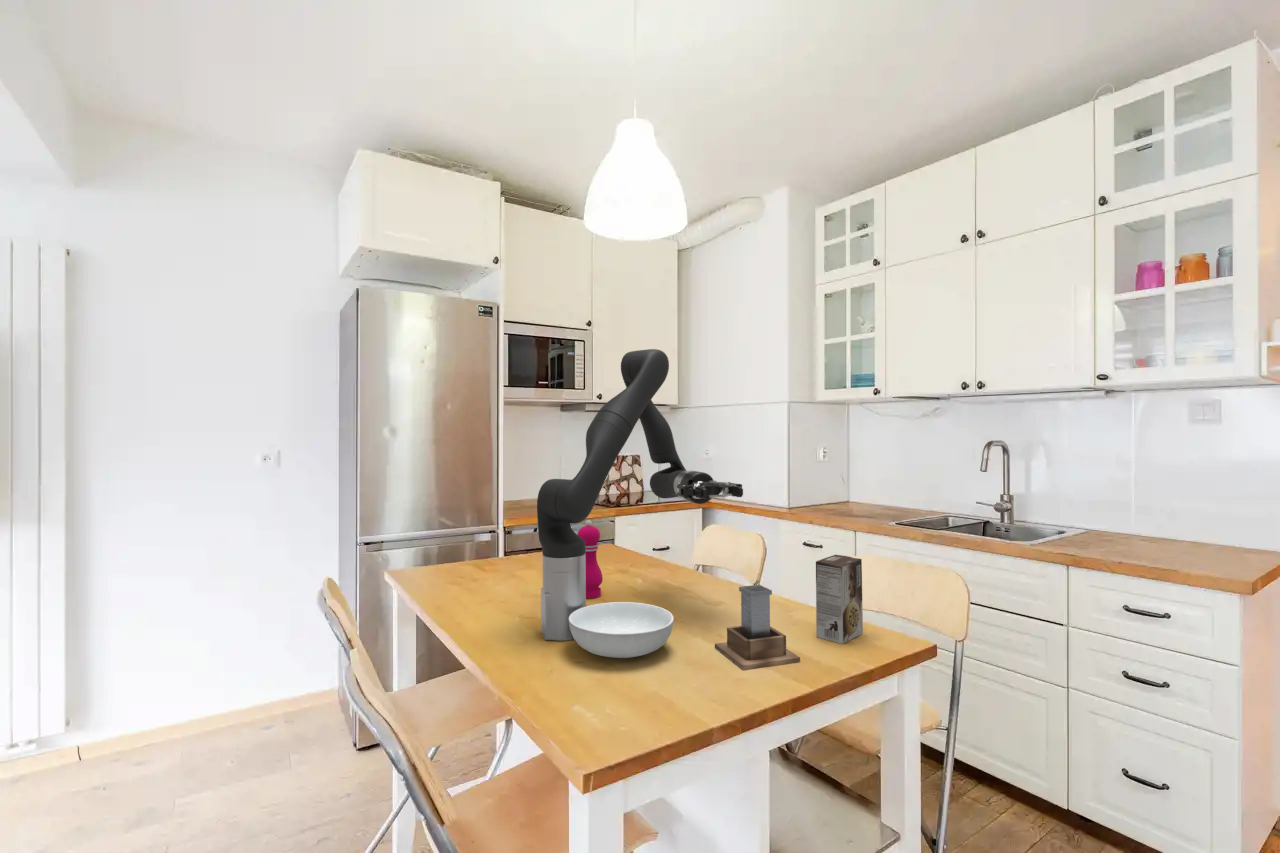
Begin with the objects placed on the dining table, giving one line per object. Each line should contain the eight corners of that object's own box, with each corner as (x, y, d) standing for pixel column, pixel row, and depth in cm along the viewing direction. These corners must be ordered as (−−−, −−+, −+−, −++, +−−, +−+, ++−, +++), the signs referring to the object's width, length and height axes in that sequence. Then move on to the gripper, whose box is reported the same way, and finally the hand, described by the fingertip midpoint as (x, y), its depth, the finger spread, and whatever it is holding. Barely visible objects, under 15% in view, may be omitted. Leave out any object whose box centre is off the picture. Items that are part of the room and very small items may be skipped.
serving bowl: (642, 679, 108) (641, 640, 108) (547, 658, 118) (547, 622, 118) (691, 642, 126) (691, 609, 126) (605, 627, 136) (605, 596, 136)
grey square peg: (751, 656, 116) (750, 592, 116) (739, 647, 120) (739, 586, 120) (772, 652, 117) (771, 590, 117) (760, 644, 122) (759, 584, 122)
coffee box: (835, 627, 135) (835, 553, 135) (863, 633, 130) (863, 558, 130) (814, 637, 129) (814, 560, 129) (843, 644, 124) (843, 565, 124)
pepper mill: (601, 599, 158) (601, 522, 158) (573, 599, 158) (573, 522, 158) (603, 591, 165) (603, 517, 165) (577, 591, 166) (576, 518, 166)
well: (742, 669, 111) (742, 645, 111) (714, 647, 123) (714, 625, 123) (800, 661, 115) (800, 638, 115) (767, 640, 126) (767, 619, 126)
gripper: (666, 471, 146) (692, 476, 130) (720, 470, 150) (752, 474, 135) (666, 503, 146) (692, 512, 130) (720, 500, 150) (752, 508, 135)
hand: (723, 493), depth 132 cm, fingers open, 8 cm apart
